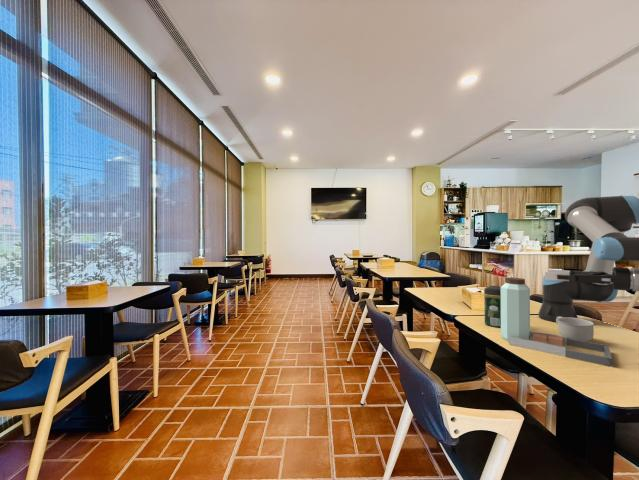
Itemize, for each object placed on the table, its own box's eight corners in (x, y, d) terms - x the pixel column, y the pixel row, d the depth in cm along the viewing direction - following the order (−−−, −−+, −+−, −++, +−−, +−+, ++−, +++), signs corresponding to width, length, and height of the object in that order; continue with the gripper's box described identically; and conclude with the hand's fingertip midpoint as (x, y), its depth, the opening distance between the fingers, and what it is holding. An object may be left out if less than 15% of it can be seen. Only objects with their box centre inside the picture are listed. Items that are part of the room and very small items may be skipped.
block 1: (546, 345, 107) (546, 335, 107) (546, 348, 104) (546, 337, 104) (533, 342, 109) (533, 332, 109) (533, 345, 106) (533, 335, 106)
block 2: (563, 348, 104) (562, 337, 104) (562, 351, 101) (562, 340, 101) (549, 345, 107) (549, 334, 107) (548, 348, 104) (548, 337, 104)
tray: (608, 352, 100) (608, 345, 100) (612, 366, 88) (612, 359, 88) (566, 344, 107) (566, 337, 107) (565, 356, 96) (565, 349, 96)
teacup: (601, 346, 106) (601, 325, 106) (568, 344, 108) (568, 323, 108) (575, 334, 119) (575, 315, 119) (547, 332, 121) (546, 314, 121)
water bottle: (495, 337, 115) (494, 277, 115) (510, 334, 119) (510, 276, 119) (520, 346, 106) (520, 281, 106) (536, 342, 110) (536, 279, 110)
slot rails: (566, 344, 107) (566, 336, 107) (565, 356, 96) (565, 347, 96) (515, 334, 118) (515, 327, 118) (508, 344, 108) (508, 336, 108)
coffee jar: (486, 320, 139) (485, 284, 139) (504, 323, 134) (504, 285, 134) (482, 325, 131) (482, 286, 131) (502, 328, 126) (502, 288, 126)
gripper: (636, 296, 81) (543, 288, 96) (625, 286, 99) (549, 280, 114) (635, 270, 81) (543, 266, 96) (625, 265, 99) (549, 262, 114)
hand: (546, 274), depth 105 cm, fingers open, 13 cm apart
